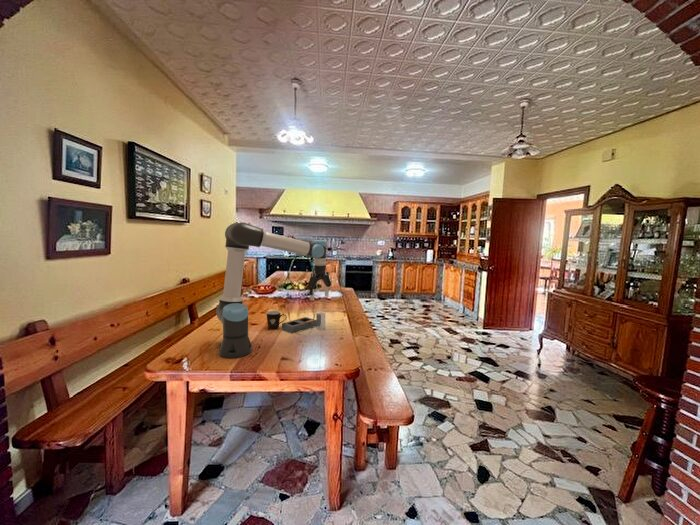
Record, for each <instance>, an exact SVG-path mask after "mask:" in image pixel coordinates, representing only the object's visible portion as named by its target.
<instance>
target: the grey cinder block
mask: <svg viewBox="0 0 700 525" xmlns="http://www.w3.org/2000/svg"><path fill="white" fill-rule="evenodd" d="M314 327H316V319H314V318H310V317H307V316H303V317H299V318H296V319H294V320H290V321H286V322H285V321H284V322H282V323H281V330H282V331H285V332H287V333H289V334H296V333H299V332H301V331H305V330H308V329H311V328H314Z"/></svg>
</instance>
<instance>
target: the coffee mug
mask: <svg viewBox="0 0 700 525" xmlns="http://www.w3.org/2000/svg"><path fill="white" fill-rule="evenodd" d="M283 316H285V319H283V320H282V321H281V317H283ZM286 319H287V315H286V314H284V313H283V314H282V313H281V311H280V310H269V311H268V310H267V312H266V321H267V329H268V330H271V331H272V330H273V331H274V330H278V329H279V327H280V324H282V323H284V322H285V321H286Z"/></svg>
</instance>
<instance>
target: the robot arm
mask: <svg viewBox="0 0 700 525" xmlns="http://www.w3.org/2000/svg"><path fill="white" fill-rule="evenodd" d="M224 237H225V244H224V245H225V246H224V247H225V249H226V250H227V257H226V258H227V259H226V266H225V274H224V275H225V276H224V284H223V292H222V293H223V294H222V296H220V297H219V301H218V305H217V306H216V316H217V319H218V321H219V322H221V324H222V339H221V340H222V341H221V344H220V346H219V350H218V354H219V356H220V357H222V358H225V359H226V358H227V359H236V358H241V357H242V358H243V357H245V356H247V355H250V354H251V353H252V351H253V347H252V346H253V345H252V343H251V340H250V337H249V308H248V306H247V305H246V304H243V302H244V299H243V298H242V297H241V294H242V285H243V276H244V275H243V274H244V268H245V267H244V266H245V258H246V253H247V252H248V251H249V249H250V247H256V248H261V247H264V248H270V249H274V250H279V251H283V252H289V253H292V254H295V255H296V256H298V257H302V256H304V257H311V258H313V264H314V265H313V271H314V273H313V272H312V273H310V277H309V281H308V284H307V285H306V289H307V290H309V301H315V287H316V285H317V284H318V281H322V282H323V284H324V285H325V286H324V297H326V298H328V297H329V295H330V294H329V292H330V287H331V286H332V281H331V278H330V275H329V271H327V241H326V240H324V239H315V240H314V241H313V243H312V242H308V241H306V240H305V241H304V240H300V239H296V238H292V237H288V236H285V235H280V234H277V233H273V232H268V231H265V229H264V228H261V227H258V226H254V225H253V224H250V223H247V222H233V223H230V225H227V228H226V229H225V232H224Z"/></svg>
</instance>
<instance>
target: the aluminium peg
mask: <svg viewBox="0 0 700 525" xmlns="http://www.w3.org/2000/svg"><path fill="white" fill-rule="evenodd" d="M315 315H316V319H315V320H316V326H315V327H316V328H315V330H318V331H323V330H325V329H326V313H325V312H318V313H316V314H315Z"/></svg>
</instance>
